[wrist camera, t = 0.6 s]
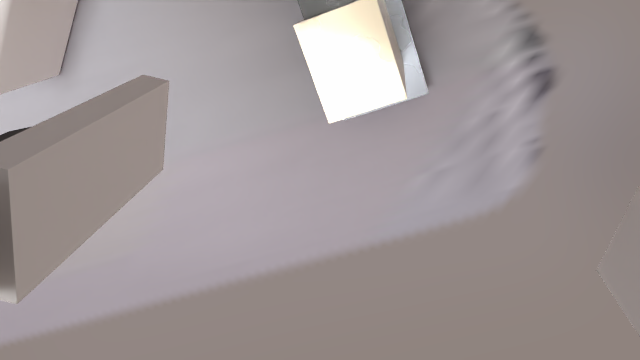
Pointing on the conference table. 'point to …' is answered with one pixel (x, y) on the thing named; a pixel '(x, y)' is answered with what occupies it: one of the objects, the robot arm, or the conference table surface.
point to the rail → (359, 55)
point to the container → (33, 40)
